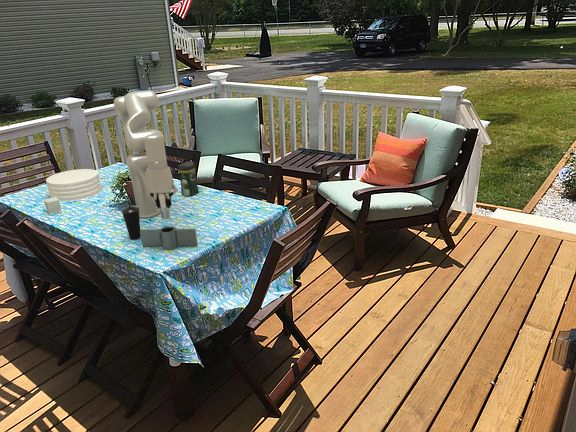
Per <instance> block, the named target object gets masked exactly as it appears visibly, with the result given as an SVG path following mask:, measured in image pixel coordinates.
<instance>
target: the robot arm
mask: <svg viewBox="0 0 576 432" xmlns="http://www.w3.org/2000/svg"><path fill="white" fill-rule="evenodd" d="M159 103H160V101H159V98H158V96H157V93H156V92H155V91H153V90H150V89H149V90H148V89H147V90H138V91H137V90H136V91H131V92H128V93H126V94H125V95H122V96H118V97H116V98H115V99H114V100H113V105H114V110H115V112H116V114H117V116H118V118H119V119H120V121H121V124H122V129H123V134H124V139H125V144H126V148H127V149H128V150H129V151H131V152H138V153H133V154H132V153H131V154H130V155H129V156H128V157H126V160H125V161H126V166H127V168H128V172H129V175H130V179H131V183H132V184H131V185H132V190H133V196H134V201H135V205H133V206H134V207H138V208H139V218H140V219H147V218H148V219H149V218H153V217H156V216H158V215H159V214H161V211H160V205H159V198H158V193H166V196H167V199H166V203H167V208H169V209H170V207H172V204H173V203H172V202H173V201H172V197H173V195H175V194H176V193H178V192H179V189H178V188H177V186H176V185H175V184H174V179H173V178H174V177H173V174H172V172H171V167H170V166H168V162H167V154H166V147H165V137H164V134H163V132H162V131H160V130H158V129H155V128H147V129H143V128H144V127H146V126H147V125H148V124H149V123H150V122H151V119H152V115H151V112H154V111H156V110H158V108H159V105H160V104H159ZM141 151H144V152H141Z"/></svg>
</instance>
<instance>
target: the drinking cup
mask: <svg viewBox="0 0 576 432" xmlns="http://www.w3.org/2000/svg"><path fill="white" fill-rule="evenodd" d="M126 198H127V204H128V206H126V207H125V208H123V209H121V214H122V216H123V220H124V223H125V226H126V230H127V233H128V237H129V239H130V240H131V241H135V240H140V239H141V235H140V230H141V218H139V208H138V207H134V206H135V205H131V201H130V197H129V195H128V196H126Z"/></svg>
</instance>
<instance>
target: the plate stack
mask: <svg viewBox="0 0 576 432" xmlns="http://www.w3.org/2000/svg"><path fill="white" fill-rule="evenodd" d="M45 181H46V186H47V190H48V194H49V198H50V197H52V198H54V197H56V198H57V199H58V200H60V201H75V200H81V199H86V198H89V197H92V196H94V195H96V194H98V193H100V192H101V190H102V191H103V189H102V184H101V180H100V175H99V171H98V170H96V169H91V168H80V169H79V168H78V169H71V170H65V171H61V172H57V173H55V174H52V175H50V176H47V178H45ZM101 193H102V192H101Z"/></svg>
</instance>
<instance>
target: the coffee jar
mask: <svg viewBox="0 0 576 432" xmlns="http://www.w3.org/2000/svg"><path fill="white" fill-rule="evenodd" d="M177 172H178V173H179V177H180V180H179V181H180V190H181V192H180V193H181V195H182V196H184V197H192V196H194V195H196V194H198V193H199V187H198V182H197V176H196V164H195V162H194V161H190V160H187V161H185V162H182V163H181V164H178V165H177Z"/></svg>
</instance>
